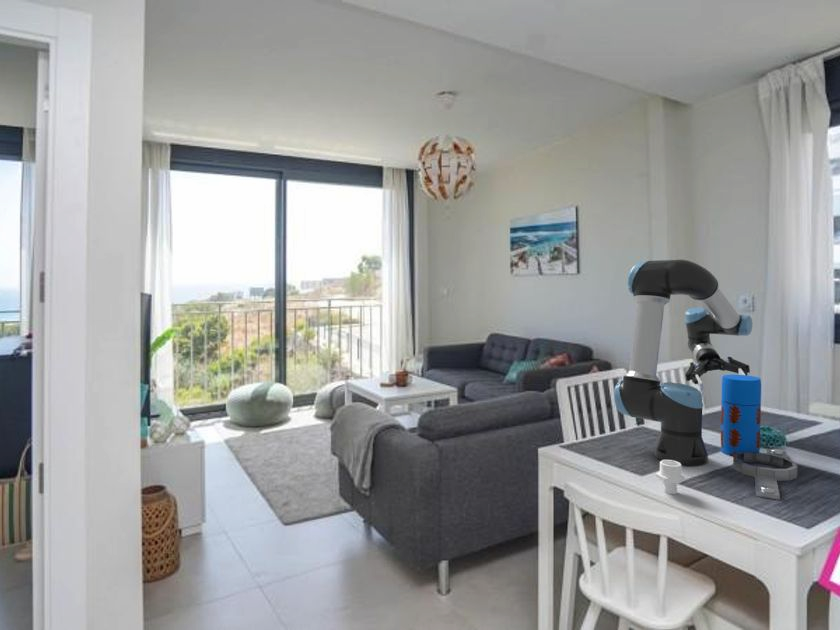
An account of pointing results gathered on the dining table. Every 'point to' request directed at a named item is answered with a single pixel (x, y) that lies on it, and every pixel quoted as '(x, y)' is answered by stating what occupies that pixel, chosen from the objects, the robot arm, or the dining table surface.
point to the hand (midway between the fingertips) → (723, 383)
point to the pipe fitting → (670, 475)
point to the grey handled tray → (766, 470)
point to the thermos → (740, 414)
